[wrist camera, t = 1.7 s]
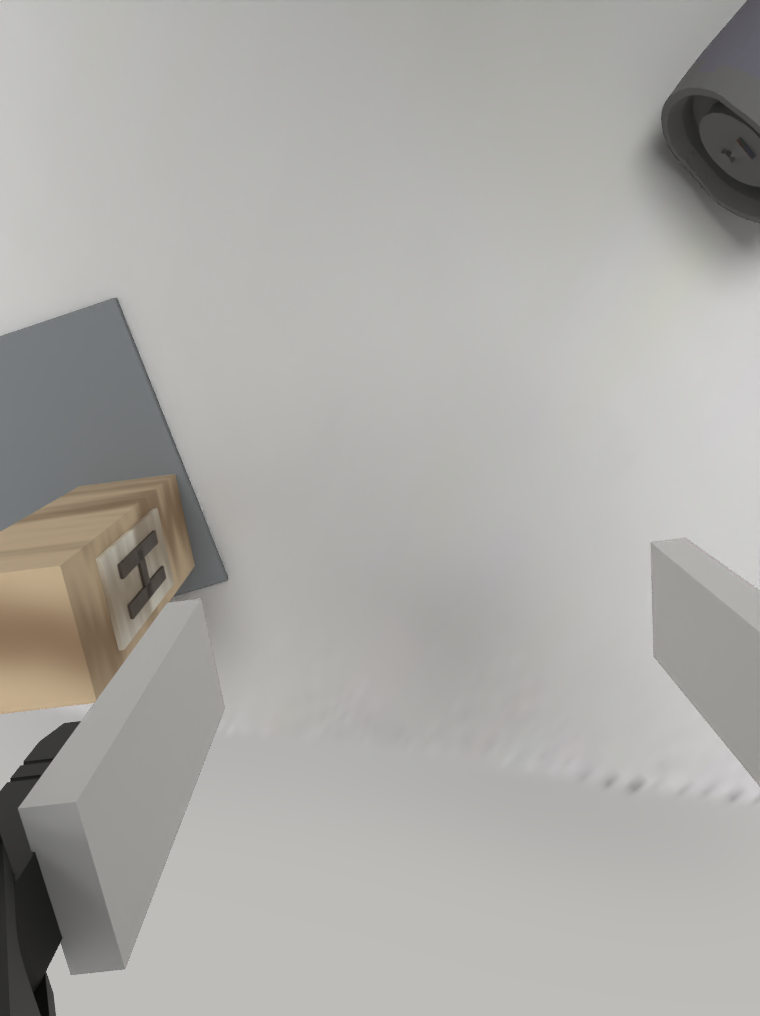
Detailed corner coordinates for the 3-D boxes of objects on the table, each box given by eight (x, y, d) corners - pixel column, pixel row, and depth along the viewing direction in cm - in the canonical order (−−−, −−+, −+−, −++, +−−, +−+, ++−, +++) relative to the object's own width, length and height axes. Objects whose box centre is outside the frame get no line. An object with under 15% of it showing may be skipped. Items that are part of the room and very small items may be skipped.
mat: (-225, 412, 41) (-230, 413, 41) (116, 298, 40) (114, 298, 39) (-83, 671, 46) (-87, 674, 46) (228, 578, 44) (226, 580, 44)
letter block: (78, 486, 42) (-92, 584, 27) (181, 472, 42) (70, 564, 27) (101, 577, 44) (-46, 719, 28) (201, 565, 44) (106, 701, 28)
